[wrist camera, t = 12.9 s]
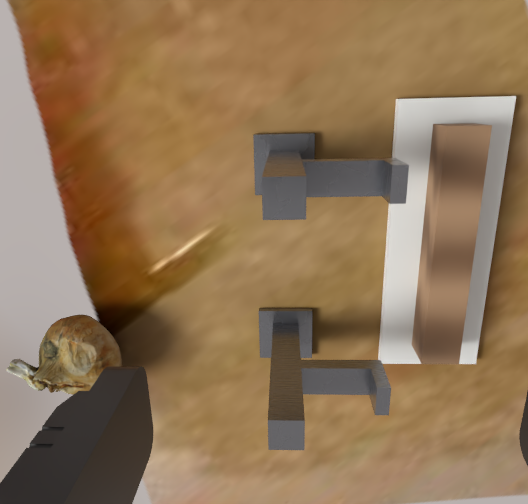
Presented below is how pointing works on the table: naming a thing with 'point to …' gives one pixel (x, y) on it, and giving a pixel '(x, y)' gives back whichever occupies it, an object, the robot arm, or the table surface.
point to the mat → (412, 217)
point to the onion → (70, 356)
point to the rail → (449, 239)
